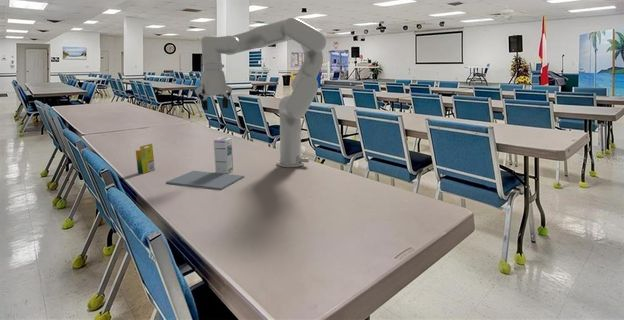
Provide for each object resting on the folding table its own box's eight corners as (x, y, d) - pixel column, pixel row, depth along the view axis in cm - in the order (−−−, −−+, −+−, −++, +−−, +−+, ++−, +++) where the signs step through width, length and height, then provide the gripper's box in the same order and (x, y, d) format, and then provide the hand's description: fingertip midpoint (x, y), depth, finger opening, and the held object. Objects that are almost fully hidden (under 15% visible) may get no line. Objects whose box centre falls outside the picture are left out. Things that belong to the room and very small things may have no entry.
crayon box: (149, 169, 174) (147, 142, 171) (155, 169, 173) (153, 143, 170) (137, 173, 167) (134, 145, 164) (143, 174, 166) (140, 146, 163)
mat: (244, 177, 163) (244, 175, 163) (221, 189, 146) (221, 188, 146) (193, 172, 170) (193, 170, 170) (166, 183, 153) (165, 181, 153)
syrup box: (228, 173, 168) (226, 139, 165) (214, 173, 169) (213, 139, 166) (233, 170, 173) (232, 137, 170) (220, 169, 174) (219, 136, 171)
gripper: (225, 67, 174) (228, 106, 178) (189, 67, 162) (192, 110, 166) (235, 67, 169) (237, 107, 173) (198, 67, 157) (201, 111, 161)
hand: (215, 108), depth 170 cm, fingers open, 9 cm apart
